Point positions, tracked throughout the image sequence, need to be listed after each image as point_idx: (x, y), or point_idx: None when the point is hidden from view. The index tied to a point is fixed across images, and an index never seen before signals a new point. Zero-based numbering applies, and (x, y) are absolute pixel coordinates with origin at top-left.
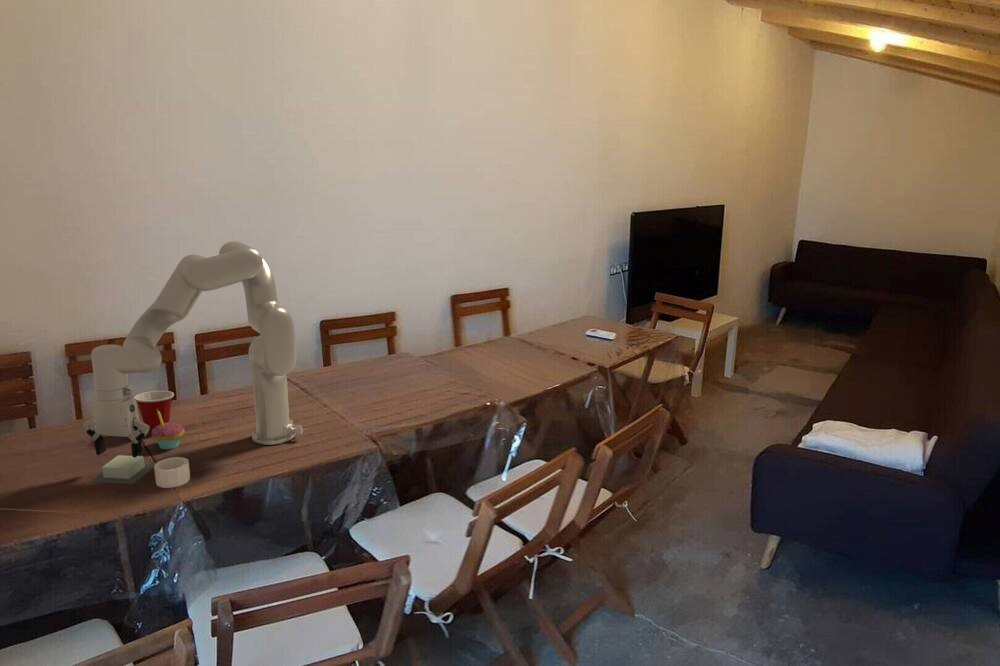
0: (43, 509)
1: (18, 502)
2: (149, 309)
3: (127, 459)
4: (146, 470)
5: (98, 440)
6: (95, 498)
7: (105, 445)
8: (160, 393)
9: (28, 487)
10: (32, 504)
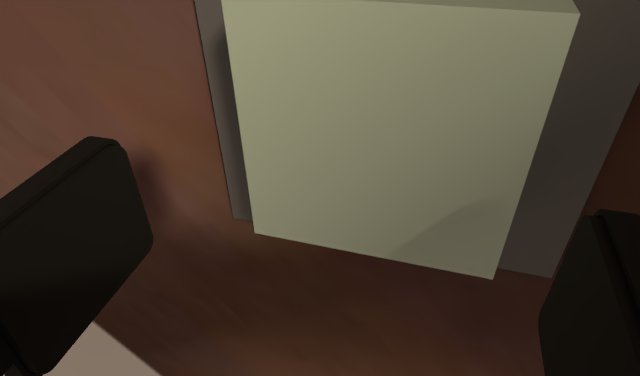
0: (234, 371)
1: (108, 316)
2: None
3: (393, 105)
4: (607, 73)
5: (16, 363)
6: (385, 348)
7: (78, 187)
8: None
9: None
10: (166, 336)
